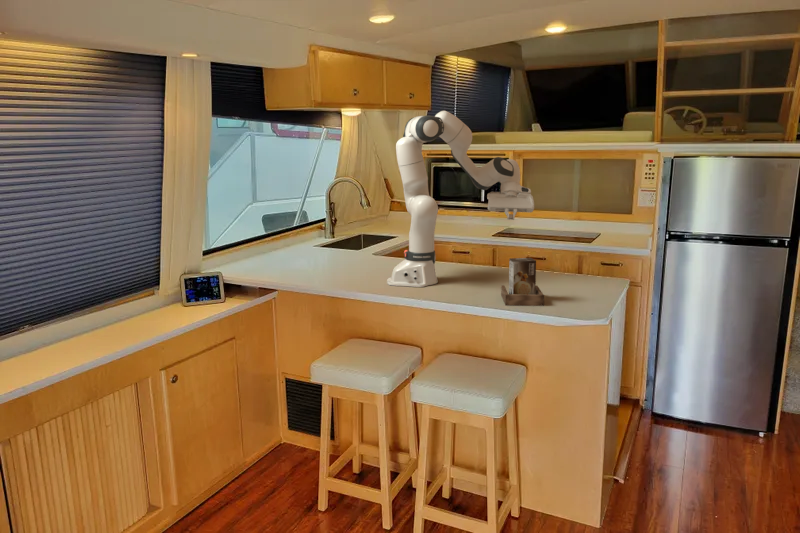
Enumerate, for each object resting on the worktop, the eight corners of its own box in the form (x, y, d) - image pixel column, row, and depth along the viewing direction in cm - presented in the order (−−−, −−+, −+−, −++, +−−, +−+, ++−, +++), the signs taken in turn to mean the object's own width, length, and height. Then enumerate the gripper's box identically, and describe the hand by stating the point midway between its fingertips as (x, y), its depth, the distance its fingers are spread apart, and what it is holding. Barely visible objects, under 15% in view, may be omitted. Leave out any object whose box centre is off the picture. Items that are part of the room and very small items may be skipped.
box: (505, 305, 223) (505, 295, 222) (501, 294, 238) (501, 285, 237) (543, 305, 222) (544, 295, 221) (536, 295, 237) (537, 285, 236)
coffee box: (530, 296, 235) (531, 257, 232) (535, 300, 229) (537, 260, 225) (508, 297, 234) (509, 258, 231) (512, 301, 228) (513, 261, 225)
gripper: (487, 187, 260) (487, 214, 254) (534, 189, 258) (535, 215, 252) (486, 195, 265) (486, 221, 259) (532, 197, 264) (533, 223, 258)
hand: (510, 218), depth 256 cm, fingers closed
